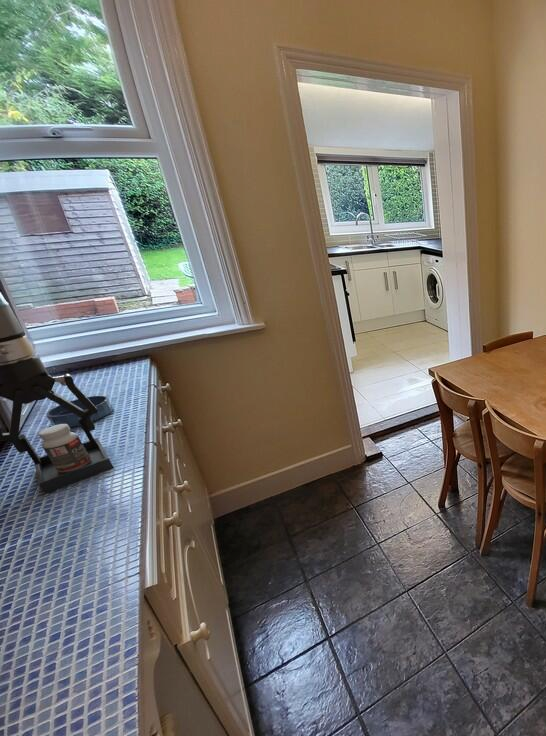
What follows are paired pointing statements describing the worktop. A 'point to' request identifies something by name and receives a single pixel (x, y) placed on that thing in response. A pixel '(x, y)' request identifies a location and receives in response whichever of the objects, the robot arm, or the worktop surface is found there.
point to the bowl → (66, 417)
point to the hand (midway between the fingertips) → (66, 452)
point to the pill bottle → (64, 448)
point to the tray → (55, 480)
